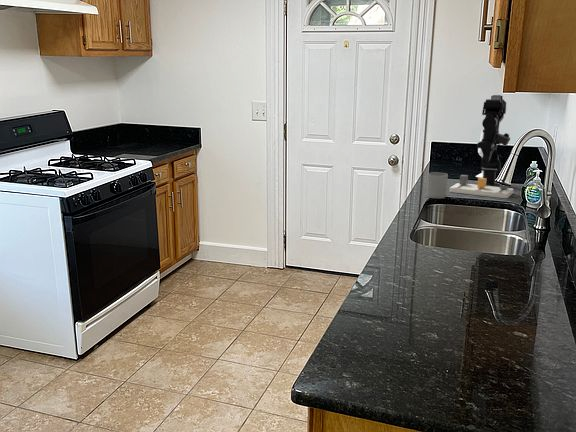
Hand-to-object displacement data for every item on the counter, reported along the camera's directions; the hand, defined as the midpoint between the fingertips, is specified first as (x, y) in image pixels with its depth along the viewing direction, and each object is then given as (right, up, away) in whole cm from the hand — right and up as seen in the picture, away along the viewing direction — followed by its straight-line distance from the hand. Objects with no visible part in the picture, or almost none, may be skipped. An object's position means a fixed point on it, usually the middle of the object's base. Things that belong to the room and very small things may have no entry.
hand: (487, 162), depth 253 cm
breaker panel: (-4, -14, -2) cm, 15 cm away
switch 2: (+5, -12, -5) cm, 14 cm away
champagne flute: (+10, -4, +35) cm, 36 cm away
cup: (-26, -16, -10) cm, 32 cm away
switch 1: (-10, -10, +4) cm, 14 cm away
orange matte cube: (-4, -12, -3) cm, 13 cm away
